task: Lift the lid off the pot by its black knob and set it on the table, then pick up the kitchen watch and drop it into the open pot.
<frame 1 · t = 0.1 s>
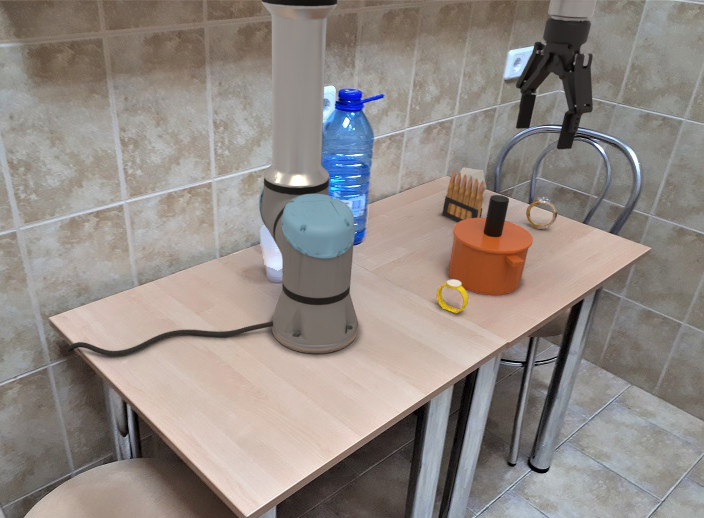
hand: (542, 138, 119), 28 cm above the table, tool pointing down, fingers open, 13 cm apart
ring: (537, 229, 150), on the table
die: (466, 199, 165), on the table
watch: (450, 310, 117), on the table
lid: (492, 236, 123), point 9 cm above the table, touching pot
pot: (483, 277, 128), on the table
ammunition clip: (460, 222, 153), on the table
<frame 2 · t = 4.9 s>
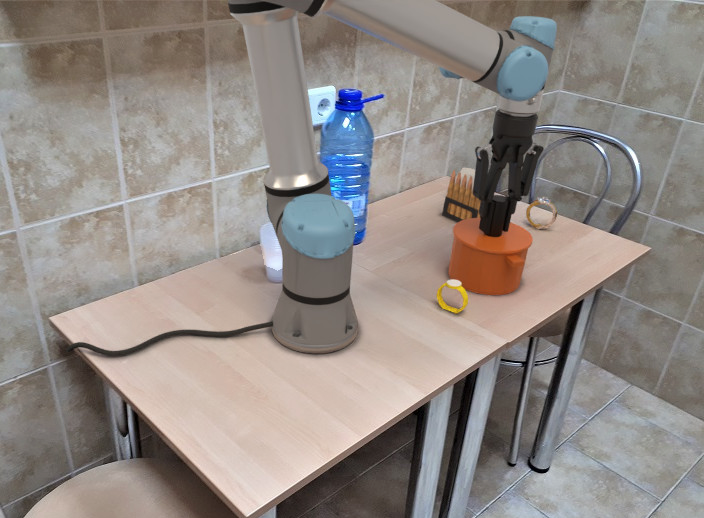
hand: (493, 229, 122), 11 cm above the table, tool pointing down, fingers closed on lid, 4 cm apart
lid: (492, 236, 123), point 10 cm above the table, touching gripper, pot
everything else where it was.
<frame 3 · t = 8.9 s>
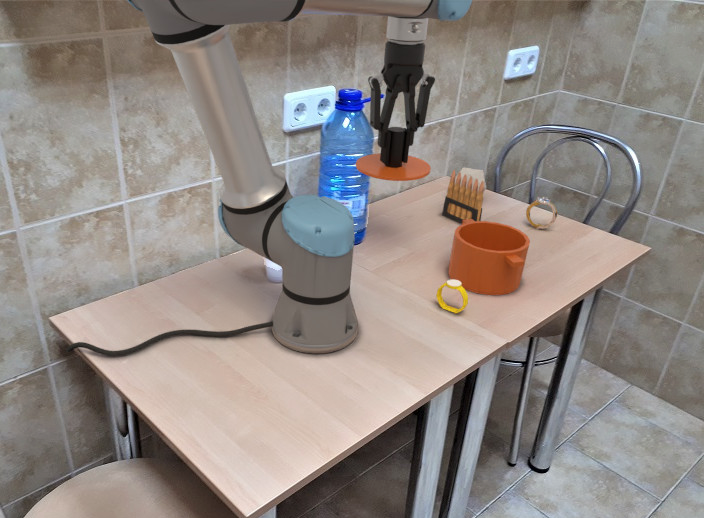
hand: (393, 161, 128), 20 cm above the table, tool pointing down, fingers closed on lid, 4 cm apart
lid: (392, 167, 128), point 19 cm above the table, touching gripper
everything else where it was.
when the fingers open (2 cm above the table, at t = 13.0 s): lid stays where it is, point 1 cm above the table.
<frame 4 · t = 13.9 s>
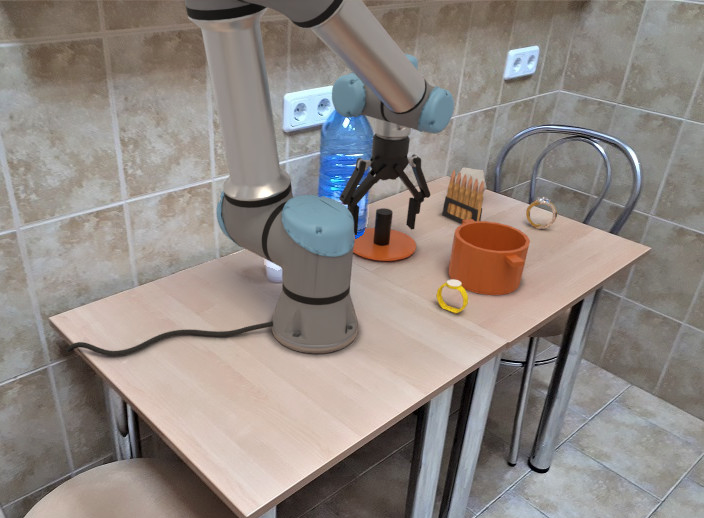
hand: (382, 229, 136), 4 cm above the table, tool pointing down, fingers open, 13 cm apart
lid: (381, 244, 138), point 1 cm above the table
everything else where it was.
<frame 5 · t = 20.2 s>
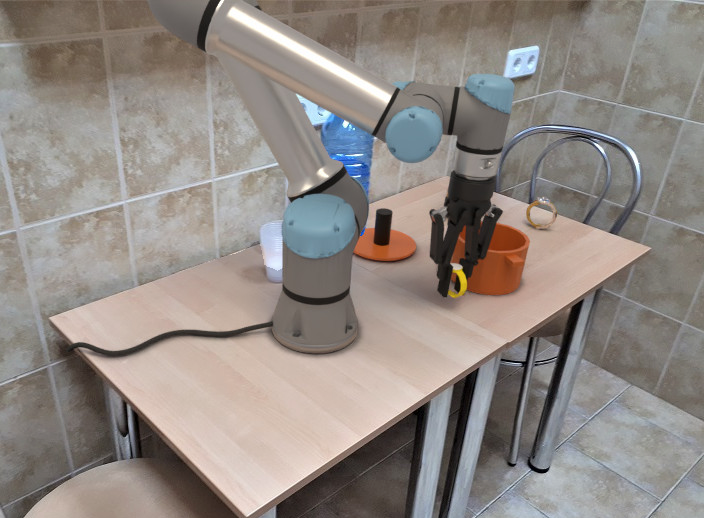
hand: (450, 292, 115), 4 cm above the table, tool pointing down, fingers closed on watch, 3 cm apart
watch: (450, 295, 115), point 3 cm above the table, touching gripper
everything else where it was.
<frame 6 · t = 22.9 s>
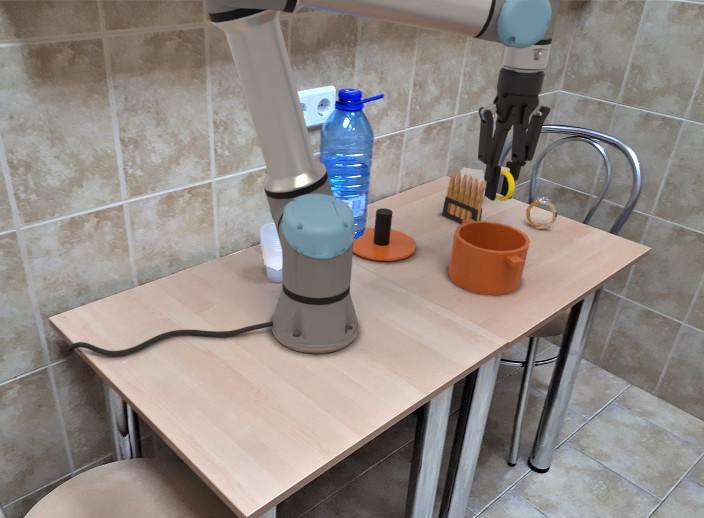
hand: (497, 197, 117), 18 cm above the table, tool pointing down, fingers closed on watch, 3 cm apart
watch: (497, 199, 117), point 18 cm above the table, touching gripper
everything else where it was.
when the fingers open (8 cm above the table, at t = 25.9 s): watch drops 6 cm, resting on pot.
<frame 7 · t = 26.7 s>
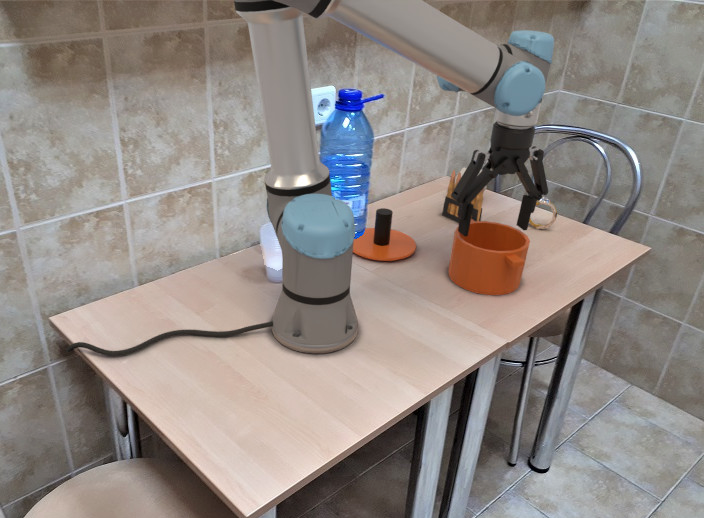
hand: (492, 230, 123), 11 cm above the table, tool pointing down, fingers open, 13 cm apart
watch: (481, 272, 127), point 1 cm above the table, touching pot
everything else where it was.
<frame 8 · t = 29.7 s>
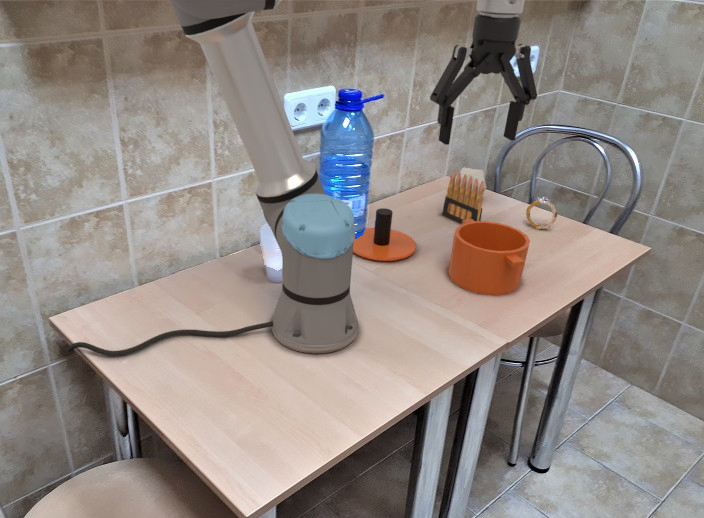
hand: (476, 140, 113), 29 cm above the table, tool pointing down, fingers open, 13 cm apart
nothing on the table moved.
at the end: lid inside the target area (0.1 cm from its centre), point 0.6 cm above the table; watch inside the target area in the pot (0.7 cm from its centre), point 1.3 cm above the pot's base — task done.
